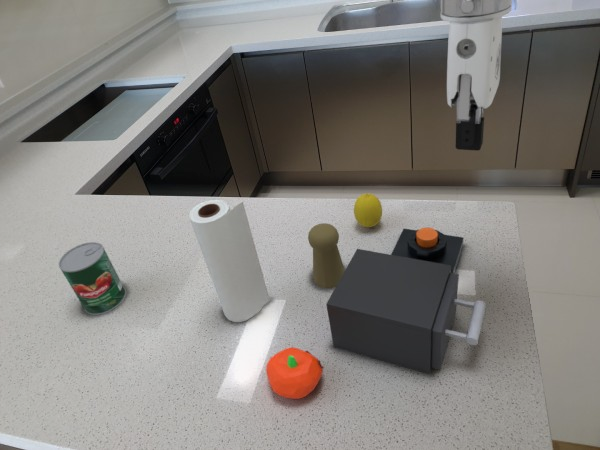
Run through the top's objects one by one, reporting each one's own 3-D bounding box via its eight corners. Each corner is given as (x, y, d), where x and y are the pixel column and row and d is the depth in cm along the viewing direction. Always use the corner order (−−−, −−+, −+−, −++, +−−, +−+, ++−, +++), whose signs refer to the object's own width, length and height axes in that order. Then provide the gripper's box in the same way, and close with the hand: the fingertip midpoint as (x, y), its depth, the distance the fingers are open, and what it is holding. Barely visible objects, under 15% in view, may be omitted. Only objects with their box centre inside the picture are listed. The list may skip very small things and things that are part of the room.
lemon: (353, 221, 96) (349, 189, 91) (379, 216, 95) (377, 184, 91) (358, 237, 91) (355, 204, 86) (386, 232, 91) (384, 198, 86)
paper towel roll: (218, 319, 79) (180, 219, 66) (234, 295, 83) (201, 196, 71) (255, 327, 76) (223, 224, 64) (270, 301, 80) (242, 200, 68)
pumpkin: (281, 357, 70) (273, 329, 67) (330, 369, 67) (325, 341, 64) (260, 397, 65) (251, 370, 62) (312, 413, 62) (305, 384, 58)
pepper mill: (324, 262, 87) (317, 215, 80) (352, 271, 83) (347, 223, 77) (306, 282, 83) (297, 234, 76) (335, 293, 80) (327, 244, 73)
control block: (462, 246, 84) (464, 229, 82) (453, 279, 78) (454, 261, 76) (403, 237, 89) (403, 220, 87) (389, 267, 83) (389, 250, 80)
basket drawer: (485, 317, 69) (490, 279, 65) (472, 379, 62) (476, 341, 57) (373, 292, 77) (369, 257, 73) (348, 344, 69) (343, 308, 65)
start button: (439, 237, 82) (439, 229, 81) (434, 249, 79) (435, 241, 78) (419, 233, 83) (419, 226, 82) (414, 246, 81) (414, 238, 80)
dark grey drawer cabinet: (449, 310, 73) (451, 265, 67) (430, 375, 64) (430, 329, 58) (361, 291, 79) (357, 248, 73) (333, 347, 70) (326, 303, 65)
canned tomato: (96, 321, 83) (69, 277, 77) (77, 303, 88) (50, 260, 82) (134, 295, 87) (111, 251, 81) (114, 279, 92) (91, 236, 86)
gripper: (502, 15, 45) (490, 178, 55) (519, -19, 55) (506, 124, 65) (424, 20, 48) (427, 172, 58) (454, -13, 58) (451, 122, 69)
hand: (469, 146), depth 62 cm, fingers closed
